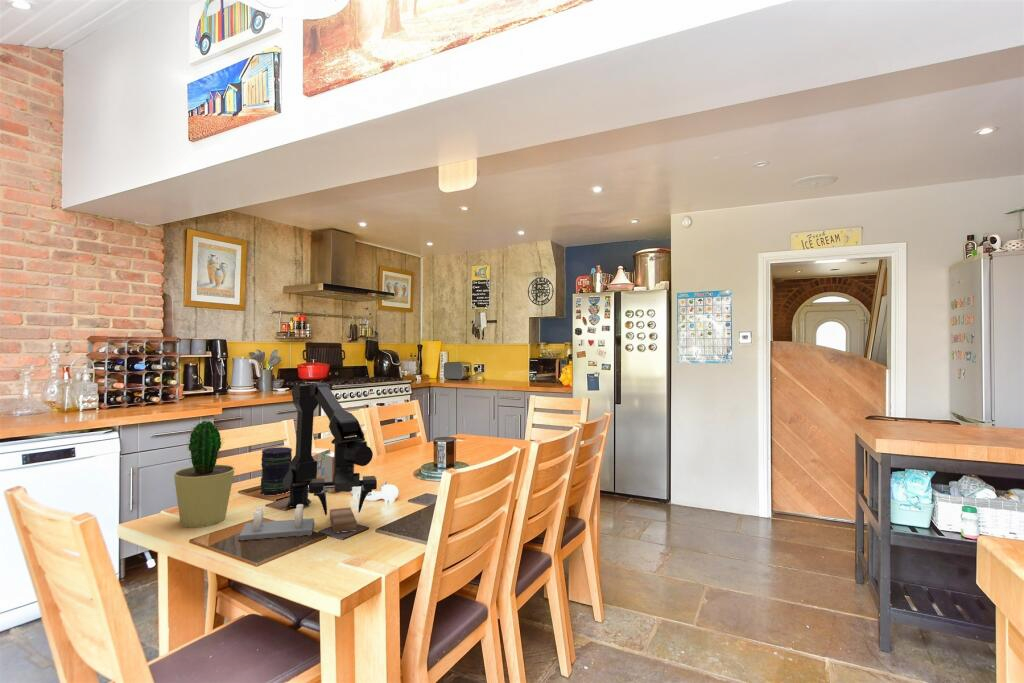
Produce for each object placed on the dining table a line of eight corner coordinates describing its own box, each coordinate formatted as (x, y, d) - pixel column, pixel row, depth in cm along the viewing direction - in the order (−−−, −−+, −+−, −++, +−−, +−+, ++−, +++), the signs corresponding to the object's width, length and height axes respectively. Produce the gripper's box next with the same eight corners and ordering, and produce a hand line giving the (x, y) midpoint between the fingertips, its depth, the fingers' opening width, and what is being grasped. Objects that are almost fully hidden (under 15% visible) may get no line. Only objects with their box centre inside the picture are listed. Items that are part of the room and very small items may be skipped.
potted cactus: (241, 520, 148) (244, 419, 149) (181, 534, 137) (185, 424, 138) (223, 508, 159) (226, 414, 159) (165, 520, 147) (169, 418, 148)
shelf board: (329, 519, 153) (330, 509, 153) (350, 517, 155) (350, 507, 155) (334, 535, 140) (334, 524, 140) (356, 532, 143) (356, 521, 143)
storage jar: (271, 487, 184) (272, 446, 184) (296, 489, 183) (297, 447, 183) (254, 495, 174) (255, 451, 175) (280, 496, 173) (281, 453, 173)
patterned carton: (327, 473, 207) (328, 443, 207) (341, 474, 205) (342, 444, 206) (296, 487, 186) (297, 453, 186) (311, 488, 184) (312, 455, 185)
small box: (331, 493, 178) (332, 456, 178) (323, 489, 183) (324, 454, 183) (352, 489, 184) (353, 454, 184) (344, 486, 188) (345, 451, 189)
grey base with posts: (246, 528, 142) (246, 505, 143) (314, 523, 148) (314, 500, 148) (238, 541, 133) (239, 516, 133) (311, 535, 139) (312, 511, 139)
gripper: (308, 468, 137) (306, 525, 137) (378, 465, 143) (377, 519, 143) (311, 459, 148) (309, 512, 148) (376, 456, 154) (375, 508, 154)
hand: (342, 513), depth 148 cm, fingers open, 9 cm apart
